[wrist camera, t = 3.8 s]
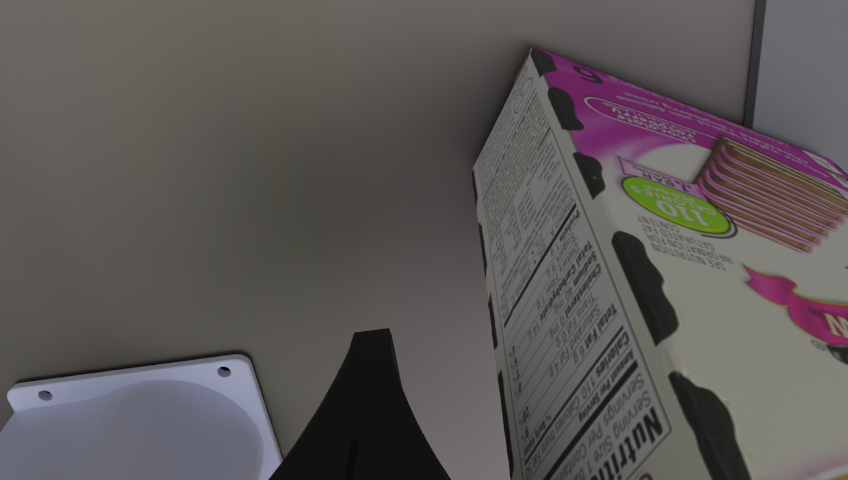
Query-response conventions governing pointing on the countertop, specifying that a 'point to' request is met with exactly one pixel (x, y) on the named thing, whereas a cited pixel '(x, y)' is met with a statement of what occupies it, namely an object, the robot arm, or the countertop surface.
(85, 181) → the countertop surface
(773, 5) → the mat
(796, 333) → the candy bar box
